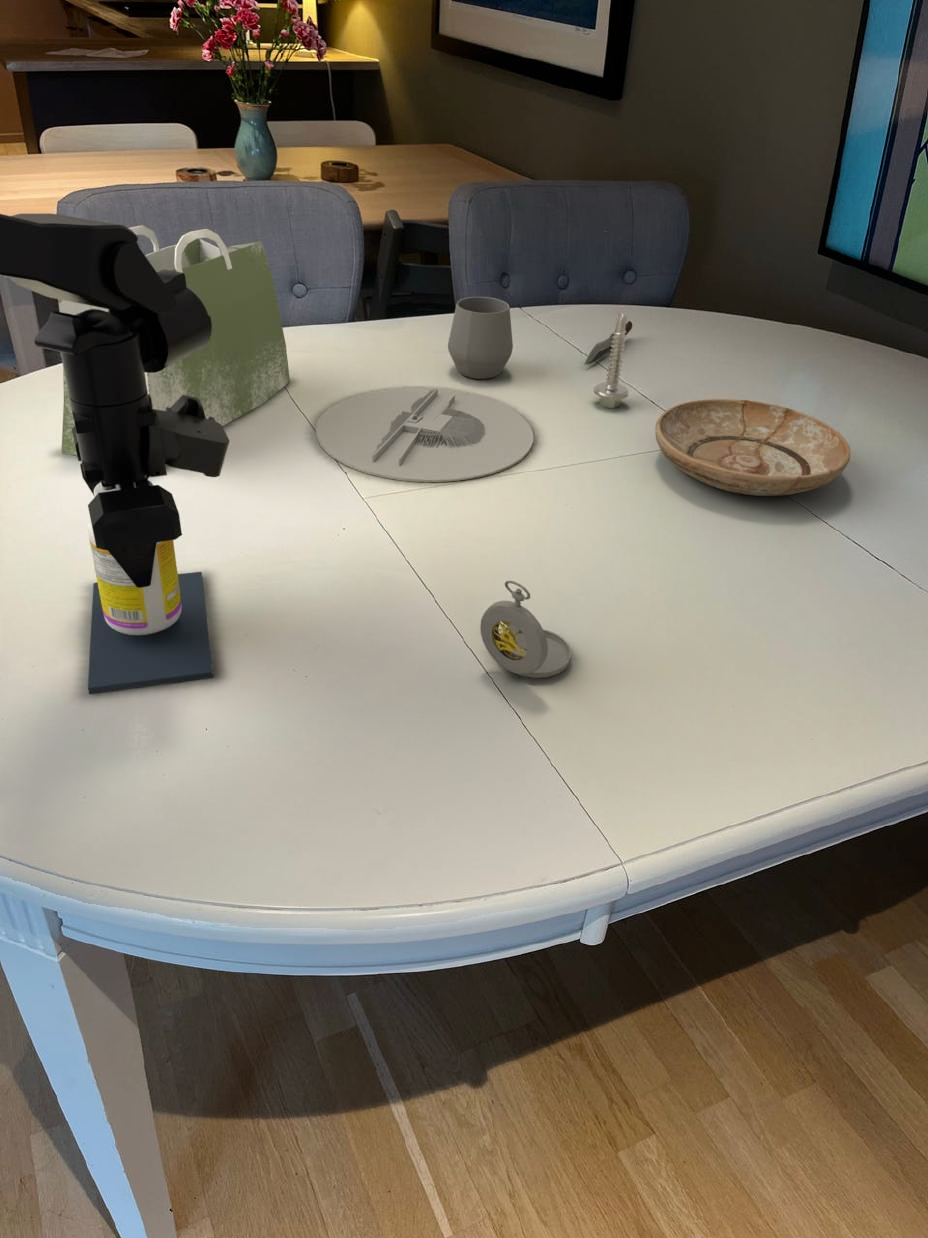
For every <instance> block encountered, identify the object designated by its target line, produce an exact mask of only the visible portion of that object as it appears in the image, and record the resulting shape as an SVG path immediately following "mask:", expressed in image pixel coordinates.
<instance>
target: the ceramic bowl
mask: <svg viewBox="0 0 928 1238" xmlns="http://www.w3.org/2000/svg"><path fill="white" fill-rule="evenodd" d="M654 432H655V434H654V435H655V440H656V443H657V445H658V447H659V450H660V451H661V452H662V453H663V455H664V456H665V457H666V459H668V461H669V462H670V463H671V464H672V465H674V466H675V467H676V468H677V469H679V470H680V471H682V472H683V473H685V474H686V475H688V476H690V477H691V478H693V479H696V480H697V481H699V482H701V483H704V484H706V485H708V486H710V487H714V488H716V489H719V490H722V491H727V492H730V493H736V494H742V495H748V496H758V497H759V496H761V497H772V496H773V497H775V496H778V497H779V496H790V495H794V494H800V493H805V492H808V491H812V490H814V489H817V488H821V487H823V486H825V485H827V484H829V483H831V482H832V481H834V480H835V479H836V478H838V476H839V475H841V474H842V473H843V471H844V470H845V469H846V468H847V467H848V464H849V462H850V460H851V447H850V445H849V443H848V442H847V440H846V439H845V438H844V436H843V435H842V434H841V433H840V432H839V431H837V430H836V429H835V428H834V427H831V426H830V425H829V424H827V423H825V422H823V421H821V420H819V419H817V418H815V417H813V416H811V415H809V414H805V413H803V412H800V411H797V410H795V409H792V408H789V407H785V406H780V405H777V404H773V403H767V402H762V401H755V400H748V399H731V398H711V399H697V400H692V401H687V402H683V403H679V404H676V405H673V406H672V407H670V408H667V410H665V411H664V412H663V413H661V415H660V416H659V417H658V418H657V420H656V423H655V431H654Z"/></svg>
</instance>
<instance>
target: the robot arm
mask: <svg viewBox="0 0 928 1238" xmlns="http://www.w3.org/2000/svg"><path fill="white" fill-rule="evenodd" d="M129 228H130V227H127V226H125V225H123V224H117V223H111V222H104V221H98V220H93V219H87V218H81V217H74V216H69V215H63V214H57V213H18V214H13V215H7V214H3V213H0V276H2V277H4V278H6V279H8V280H10V281H11V282H13V283H14V284H15V285H16V286H19V287H21V288H24V289H26V290H29V291H31V292H34V293H37V294H38V295H41V296H44V297H47V298H50V299H55V300H58V299H60V300H65V301H70V302H75V303H80V304H85V305H91V306H96V307H101V308H106V309H109V311H108V312H106V311H102V310H98V309H89V310H85V311H83V312H80V313H78V314H75V315H72V314H67V313H62V312H60V311H57V310H52V311H50V315H49V317H48V320H47V322H46V323H45V324H44V325H43V326H42V327H40V329H39V330H38V332H37V334H36V336H35V337H34V340H33V341H34V345H35V346H36V347H37V348H40V349H46V350H49V351H50V350H51V351H55V352H58V353H60V357H61V362H62V363H61V364H62V369H63V368H64V373H65V378H66V383H67V389H68V394H69V400H70V405H71V410H72V415H73V419H74V424H75V426H74V427H73V428H72V433H73V438H74V443H75V448H76V453H77V456H76V457H77V458H76V459H77V461H78V462H81V463H80V465H79V467H80V473H81V476H82V479H83V480H84V482H85V484H86V486H87V487H88V488H89V491H90V492H91V493H92V495H93V496H94V488H95V487H96V485H97V484H99V483H100V482H101V485H102V489H103V490H113V489H116V485H119V489H120V490H115V491H108V492H100V493H98V494H97V495H96V496H95V497H93V498H92V500H90V502H89V503H88V504H87V508H88V513H89V519H90V520H91V524H92V529H93V534H94V538H95V543H96V548H99V549H102V550H107V551H108V552H109V553H110V554H111V555H112V556H113V558H114V559H115V560H116V561H117V563H118V564H119V565H120V566H121V568H122V569H123V570H124V571H125V573H126V574H127V575H128V577H129V578H130V579H131V580H132V582H133V583H134V584H135V585H136V587H138V588H142V587H148V586H150V585H151V579H152V571H153V564H154V557H155V550H156V544H157V542H163V541H169V540H173V541H175V540H177V539H179V538H180V537H182V535H183V533H182V532H183V531H182V526H181V519H180V518H181V517H180V513H179V509H178V506H177V503H176V502H175V499H174V496H173V494H172V492H170V491H169V490H168V489H166V488H164V487H163V486H161V485H159V484H155V485H154V484H153V486H150V484H149V481H150V480H149V478H156V477H164V476H168V474H167V473H168V471H167V467H166V466H168V467H171V468H173V469H178V470H184V471H190V472H195V473H200V474H203V476H205V477H209V478H218V477H220V476H221V473H222V469H223V466H224V462H225V460H226V459H225V458H226V455H227V452H228V448H229V445H230V439H229V437H228V435H227V433H226V431H225V429H224V426H222V425H221V424H219V423H218V422H216V421H215V419H214V417H209V419H206V417H205V413H204V409H203V406H202V404H201V402H200V400H199V399H198V398H195V397H191V396H187V395H182V396H181V397H180V398H179V399H178V400H177V401H176V402H175V404H174V405H173V406H172V407H171V408H168V407H166V410H165V411H162V410H156V409H153V407H152V400H151V397H150V395H149V394H148V391H147V385H146V378H145V372H147V373H156V372H159V371H161V370H163V369H165V368H167V367H169V366H171V365H173V364H175V363H177V362H178V361H180V360H182V359H184V358H186V357H188V356H190V355H192V354H194V353H195V352H197V351H199V350H201V349H202V348H204V347H205V346H206V345H207V343H208V342H209V340H210V337H211V333H212V322H211V317H210V316H209V315H208V313H207V310H206V308H205V306H204V304H203V303H202V301H201V300H200V299H199V297H198V296H197V295H196V294H195V293H194V292H192V291H191V290H190V289H189V288H187V286H186V278H185V274H184V273H181V272H176V271H170V270H161V271H159V272H156V271H155V269H154V268H153V266H152V265H151V263H150V262H149V261H148V259H147V258H146V256H145V255H146V254H144V252H143V250H142V249H141V248H140V246H139V243H138V240H139V239H138V235H136V234H135V233H134V232H133V231H132V230H131V229H129ZM148 480H149V481H148ZM134 482H135V484H136V488H134V484H133V483H134Z"/></svg>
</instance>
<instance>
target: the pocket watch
mask: <svg viewBox="0 0 928 1238" xmlns="http://www.w3.org/2000/svg"><path fill="white" fill-rule="evenodd" d="M509 584H512V585H515V586H517V587H519V588H516V589H515V591H513V590H512V589H511V588H510V586H509ZM504 586H505V589H506V590H507V591H508V592H509V593H510V594H511V597H512V599H514V601H512V600H500V601H495V602H493V603H492V604H490V606H489V607H487V608H486V610H484V613H483V615H482V617H481V619H480V625H479V626H480V636H481V639H482V643H483V645H484V648H485V649H486V651H487V652H488V654H489V655H490V656H491V658H492V659H493V660H494V662H496V663H497V664H498V665H500V666H501V667H502V668H503V669H505V670H507V671H509V672H511V673H514V674H516V675H519V676H522V677H526V678H533V679H539V678H541V679H542V678H549V677H552V676H553V677H554V676H557V675H558V674H560V673H562V672H563V671H564V670H565V669H566V668H567V667H569V664H570V662H571V660H572V650H571V646H570V645H569V643H568V642H567V640H565V639H564V637H562V636H560V635H558V634H557V633H556V632H553V631H550V630H547V629H543V626H542V625H541V622H539V620H538V619H537V618H536V616H535V615H534V614H533V613H532V612H530V611H529V610H528V608H526V607H525V606H523V605H521V604H522V602H524V601H525V600H530V599H531V593H530V592H529V590H528V589H527V588H526V587H525V586H524V585H522V584H520V583H519V582H516V581H515V580H506V581H505V582H504ZM522 591H524V592H525V594H526V595H527V596H525V594H524V593H522ZM500 627H501V628H500Z"/></svg>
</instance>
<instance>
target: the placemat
mask: <svg viewBox="0 0 928 1238" xmlns="http://www.w3.org/2000/svg"><path fill="white" fill-rule="evenodd" d="M178 581H179V588H180V596H181V604H182V610H181V614H180V616H179V618H178V619H177V621H176V622H175V623H174V624H172V625H171V626H170V627H168V628H166V629H164V630H162V631H159V632H156V633H152V634H147V635H128V634H123V633H120V632H118V631H116V630H114V629H113V628H111V627H110V626H109V625H108V624H107V622H106V620H105V618H104V613H103V609H102V604H101V598H100V593H99V588H98V582H93V585H92V588H93V589H92V601H91V602H92V604H91V619H90V620H91V621H90V640H89V641H90V642H89V657H88V659H89V660H88V675H87V676H88V679H87V690H88V691H87V692H88V694H97V693H103V692H111V691H118V690H124V689H125V690H126V689H133V688H140V687H141V688H142V687H149V686H156V685H163V684H172V683H179V682H187V681H193V680H201V679H202V680H203V679H208V678H214V672H213V663H212V654H211V653H212V652H211V645H210V635H209V625H208V617H207V609H206V600H205V598H206V597H205V589H204V580H203V573H202V571H195V572H185V573H178Z"/></svg>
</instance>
